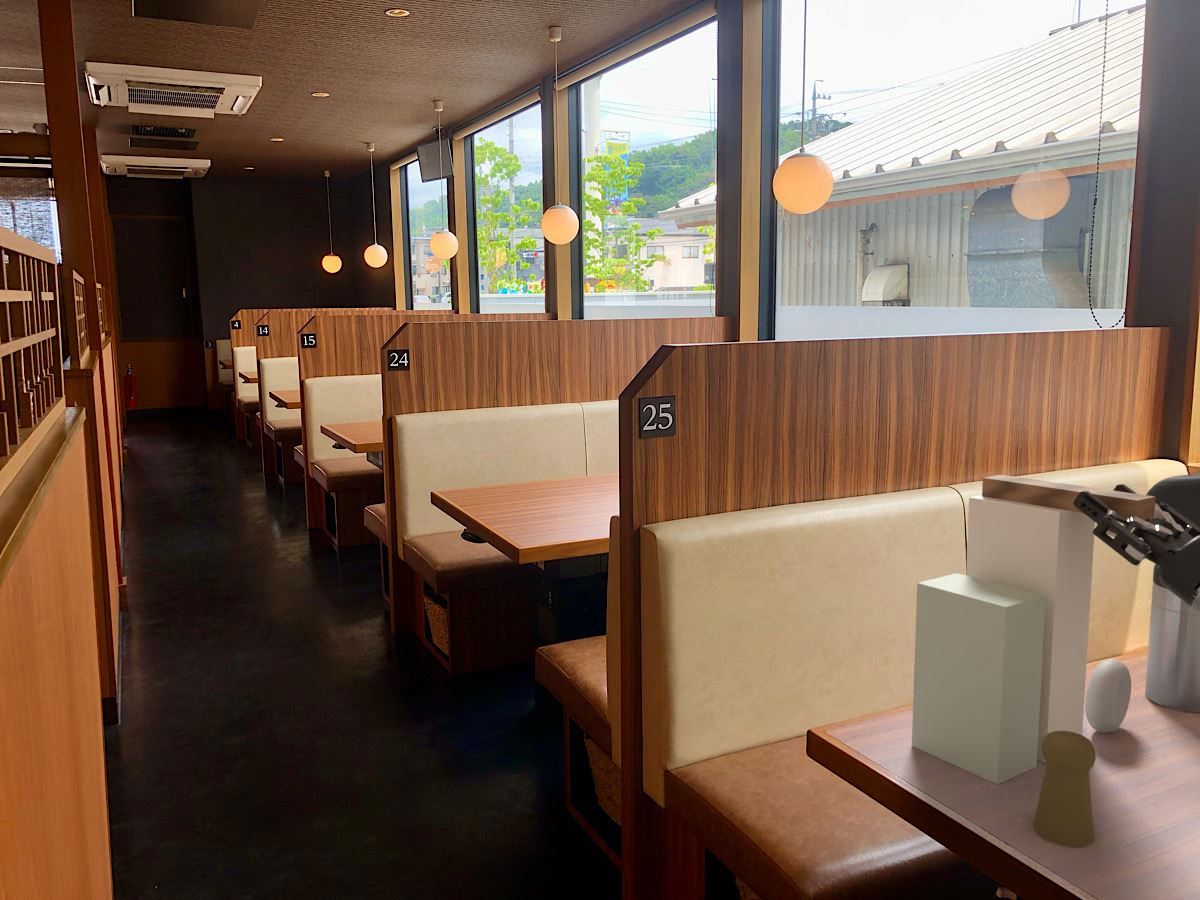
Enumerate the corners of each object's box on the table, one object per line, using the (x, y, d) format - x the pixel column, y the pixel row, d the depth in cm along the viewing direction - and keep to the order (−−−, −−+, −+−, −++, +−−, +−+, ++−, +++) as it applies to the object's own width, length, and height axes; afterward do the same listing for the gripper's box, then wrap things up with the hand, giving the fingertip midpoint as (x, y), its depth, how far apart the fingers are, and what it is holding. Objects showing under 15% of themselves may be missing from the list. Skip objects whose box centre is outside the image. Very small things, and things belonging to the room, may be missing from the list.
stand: (1081, 746, 121) (1096, 505, 117) (997, 784, 111) (1010, 523, 107) (995, 713, 131) (1005, 490, 127) (911, 745, 122) (919, 506, 117)
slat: (981, 496, 123) (982, 477, 123) (1000, 492, 126) (1001, 474, 125) (1136, 521, 107) (1137, 500, 106) (1154, 517, 109) (1155, 496, 109)
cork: (1108, 840, 99) (1114, 743, 98) (1064, 852, 97) (1070, 752, 96) (1062, 813, 105) (1068, 720, 103) (1020, 823, 103) (1025, 729, 101)
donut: (1107, 747, 121) (1111, 673, 119) (1079, 738, 123) (1083, 666, 122) (1132, 723, 127) (1137, 653, 126) (1105, 716, 130) (1109, 647, 129)
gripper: (1272, 550, 103) (1145, 462, 114) (1210, 570, 96) (1080, 474, 106) (1230, 599, 107) (1111, 509, 118) (1167, 621, 100) (1046, 524, 110)
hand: (1097, 493), depth 112 cm, fingers open, 7 cm apart
